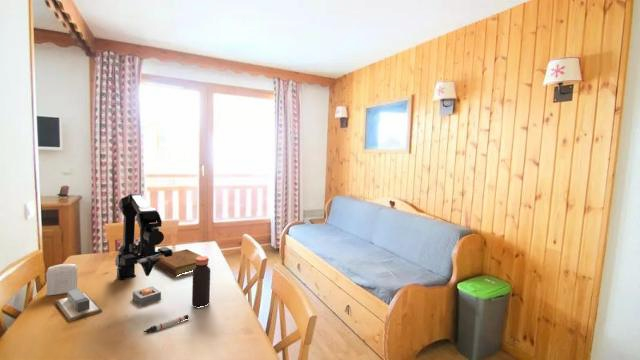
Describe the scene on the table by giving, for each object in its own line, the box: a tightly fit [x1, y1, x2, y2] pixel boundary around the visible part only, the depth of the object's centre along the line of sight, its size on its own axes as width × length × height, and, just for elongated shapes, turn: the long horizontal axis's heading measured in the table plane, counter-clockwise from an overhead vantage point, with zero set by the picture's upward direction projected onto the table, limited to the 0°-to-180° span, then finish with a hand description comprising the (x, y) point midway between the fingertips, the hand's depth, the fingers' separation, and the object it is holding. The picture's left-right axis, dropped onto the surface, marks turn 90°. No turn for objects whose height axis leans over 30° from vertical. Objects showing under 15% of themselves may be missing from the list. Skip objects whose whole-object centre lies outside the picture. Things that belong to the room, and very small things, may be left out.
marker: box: [143, 314, 190, 334], centre depth 113 cm, size 15×2×2 cm, turn 136°
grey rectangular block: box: [66, 288, 89, 312], centre depth 122 cm, size 4×14×4 cm, turn 52°
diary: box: [154, 249, 210, 278], centre depth 169 cm, size 23×19×6 cm
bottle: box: [191, 255, 211, 307], centre depth 129 cm, size 7×7×20 cm
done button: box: [141, 288, 152, 296], centre depth 132 cm, size 4×4×2 cm
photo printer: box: [46, 263, 79, 296], centre depth 133 cm, size 10×4×12 cm, turn 123°
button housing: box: [132, 286, 162, 306], centre depth 132 cm, size 8×8×3 cm
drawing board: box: [54, 292, 103, 323], centre depth 122 cm, size 10×20×1 cm, turn 52°
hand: (147, 275), depth 131 cm, fingers closed
